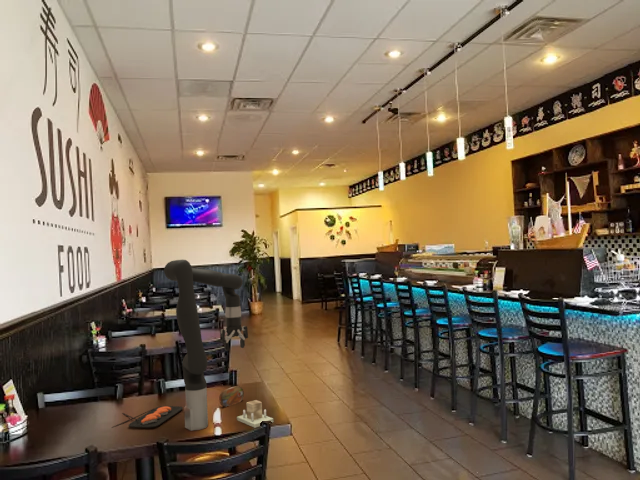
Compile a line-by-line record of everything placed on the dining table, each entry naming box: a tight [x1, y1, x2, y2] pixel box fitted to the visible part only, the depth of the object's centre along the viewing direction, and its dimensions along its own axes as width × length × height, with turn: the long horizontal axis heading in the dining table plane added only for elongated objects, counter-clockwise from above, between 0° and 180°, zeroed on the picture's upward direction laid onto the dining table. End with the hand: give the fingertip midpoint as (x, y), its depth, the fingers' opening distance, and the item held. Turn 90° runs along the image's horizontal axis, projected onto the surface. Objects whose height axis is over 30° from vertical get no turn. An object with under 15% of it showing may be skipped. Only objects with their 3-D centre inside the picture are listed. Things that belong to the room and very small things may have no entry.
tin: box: [218, 385, 245, 408], centre depth 256 cm, size 15×3×8 cm, turn 143°
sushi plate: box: [111, 405, 184, 429], centre depth 239 cm, size 29×30×4 cm
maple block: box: [246, 399, 263, 420], centre depth 228 cm, size 5×5×7 cm
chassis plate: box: [236, 409, 274, 429], centre depth 228 cm, size 10×15×5 cm, turn 40°
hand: (234, 349), depth 244 cm, fingers open, 8 cm apart
